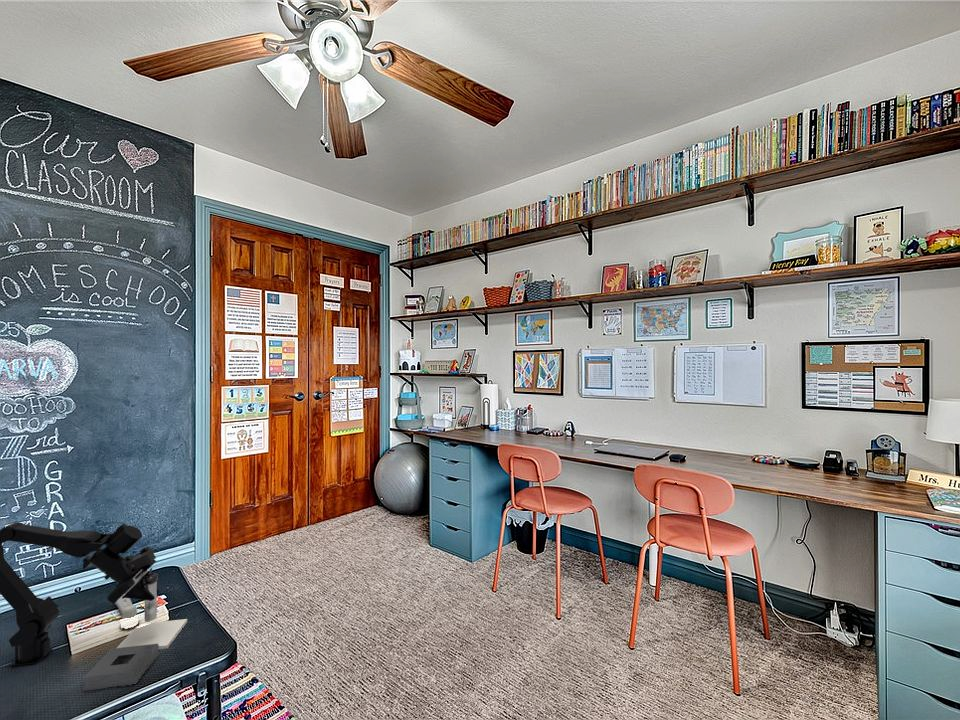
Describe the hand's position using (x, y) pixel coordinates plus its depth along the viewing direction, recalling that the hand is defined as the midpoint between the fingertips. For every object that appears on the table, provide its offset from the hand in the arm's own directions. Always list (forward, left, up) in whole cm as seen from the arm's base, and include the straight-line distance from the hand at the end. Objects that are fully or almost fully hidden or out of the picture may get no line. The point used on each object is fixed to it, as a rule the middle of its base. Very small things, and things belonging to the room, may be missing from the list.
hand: (155, 596), depth 139 cm
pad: (-2, +2, -13) cm, 14 cm away
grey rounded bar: (-17, +18, -14) cm, 29 cm away
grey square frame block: (-2, -14, -13) cm, 20 cm away
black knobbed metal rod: (-1, 0, -7) cm, 7 cm away
